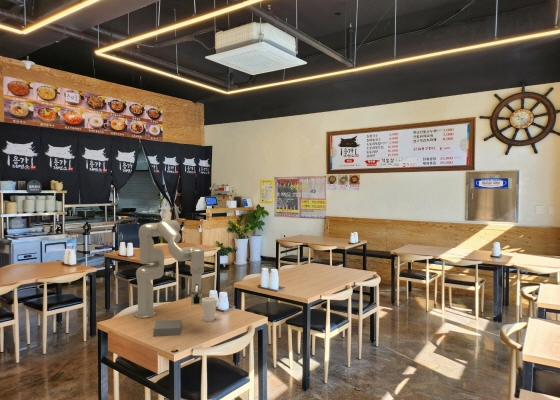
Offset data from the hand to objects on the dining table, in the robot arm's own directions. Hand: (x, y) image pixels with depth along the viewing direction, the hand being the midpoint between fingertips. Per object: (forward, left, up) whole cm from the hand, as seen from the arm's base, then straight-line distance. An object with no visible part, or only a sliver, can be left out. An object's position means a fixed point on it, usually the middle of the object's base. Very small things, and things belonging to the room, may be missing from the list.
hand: (196, 301), depth 226 cm
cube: (0, 0, -1) cm, 1 cm away
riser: (-2, -16, -17) cm, 23 cm away
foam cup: (-19, +7, -17) cm, 26 cm away
